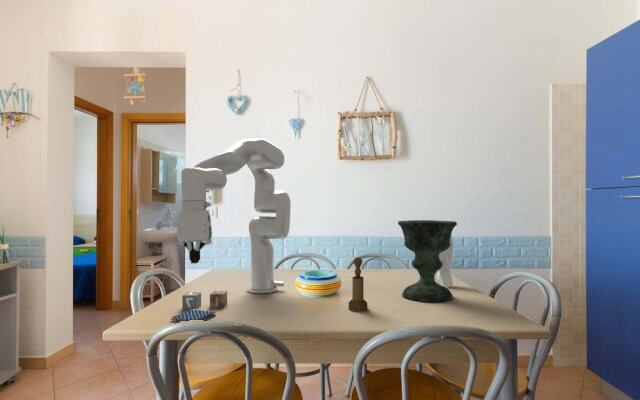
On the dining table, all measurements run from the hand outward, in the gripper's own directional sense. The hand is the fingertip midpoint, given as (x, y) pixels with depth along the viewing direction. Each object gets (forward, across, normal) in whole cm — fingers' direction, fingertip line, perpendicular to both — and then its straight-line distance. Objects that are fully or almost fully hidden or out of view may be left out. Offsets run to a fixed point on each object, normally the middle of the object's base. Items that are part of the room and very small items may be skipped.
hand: (194, 262), depth 123 cm
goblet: (+20, -83, -27) cm, 89 cm away
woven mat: (+19, 0, +1) cm, 19 cm away
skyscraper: (+20, -96, -47) cm, 108 cm away
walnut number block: (+18, -4, -14) cm, 23 cm away
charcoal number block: (+18, +5, -12) cm, 23 cm away
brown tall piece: (+19, -54, -10) cm, 58 cm away
